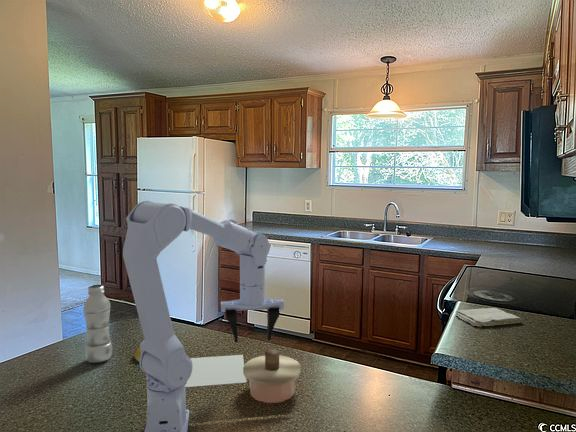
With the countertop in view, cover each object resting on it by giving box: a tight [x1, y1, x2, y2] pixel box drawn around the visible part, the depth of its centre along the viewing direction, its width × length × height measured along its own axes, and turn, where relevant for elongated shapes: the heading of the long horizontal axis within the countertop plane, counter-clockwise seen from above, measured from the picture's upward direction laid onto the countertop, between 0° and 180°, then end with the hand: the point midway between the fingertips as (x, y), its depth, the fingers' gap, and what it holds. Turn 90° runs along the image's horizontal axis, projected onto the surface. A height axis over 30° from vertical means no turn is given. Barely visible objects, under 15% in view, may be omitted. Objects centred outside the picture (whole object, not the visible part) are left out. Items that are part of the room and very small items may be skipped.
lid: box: [243, 349, 302, 386], centre depth 95 cm, size 13×13×4 cm
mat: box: [185, 354, 247, 388], centre depth 105 cm, size 15×15×1 cm
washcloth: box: [455, 307, 523, 323], centre depth 143 cm, size 12×18×3 cm, turn 105°
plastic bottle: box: [83, 283, 113, 364], centre depth 110 cm, size 6×7×20 cm
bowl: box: [249, 379, 296, 404], centre depth 95 cm, size 10×10×5 cm
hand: (252, 339), depth 99 cm, fingers open, 7 cm apart
